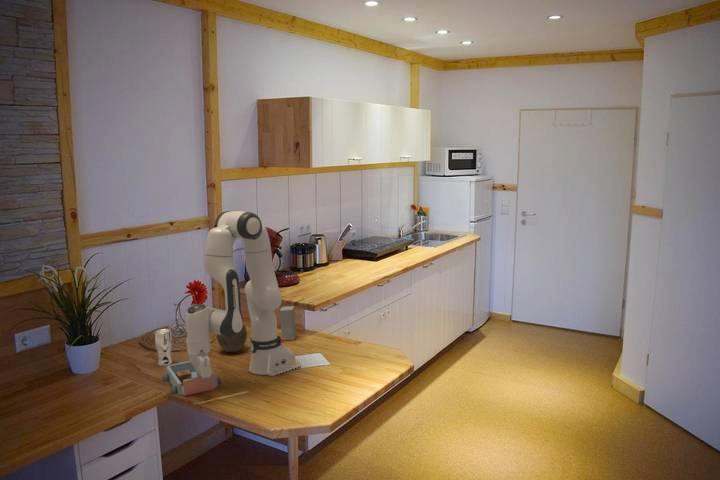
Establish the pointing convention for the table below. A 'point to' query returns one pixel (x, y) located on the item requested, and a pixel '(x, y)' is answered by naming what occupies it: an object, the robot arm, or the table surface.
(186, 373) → the brown small block
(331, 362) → the table surface
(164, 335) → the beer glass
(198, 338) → the robot arm
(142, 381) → the table surface
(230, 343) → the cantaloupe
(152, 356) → the table surface
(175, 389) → the flatbed
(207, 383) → the tailgate
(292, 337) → the skincare box
